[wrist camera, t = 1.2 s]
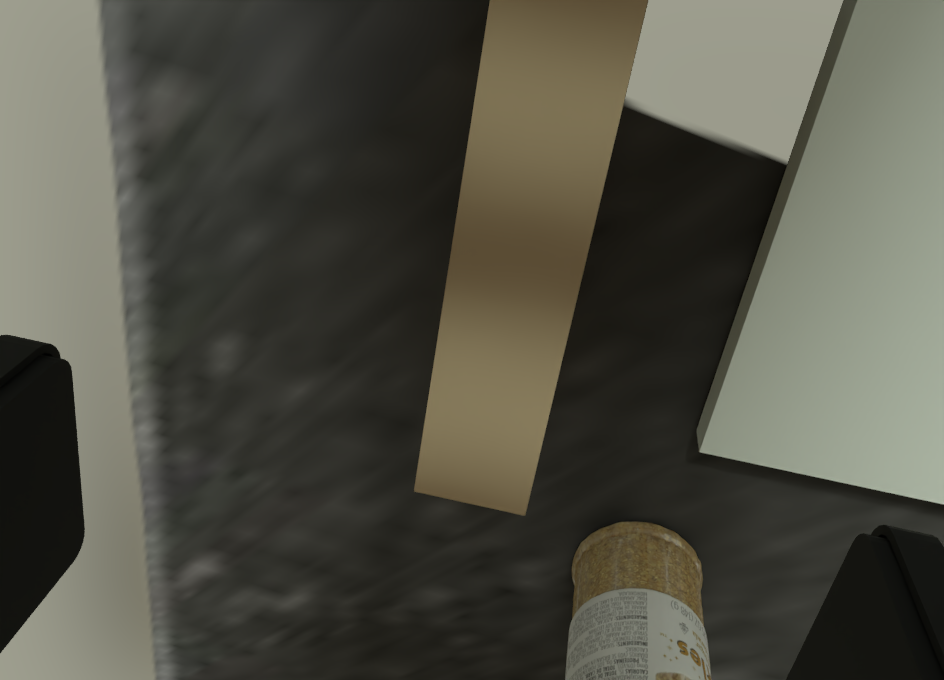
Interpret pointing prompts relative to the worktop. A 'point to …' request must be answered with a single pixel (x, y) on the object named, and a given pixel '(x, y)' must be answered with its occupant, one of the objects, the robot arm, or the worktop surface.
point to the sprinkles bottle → (637, 607)
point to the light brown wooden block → (522, 238)
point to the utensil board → (850, 274)
